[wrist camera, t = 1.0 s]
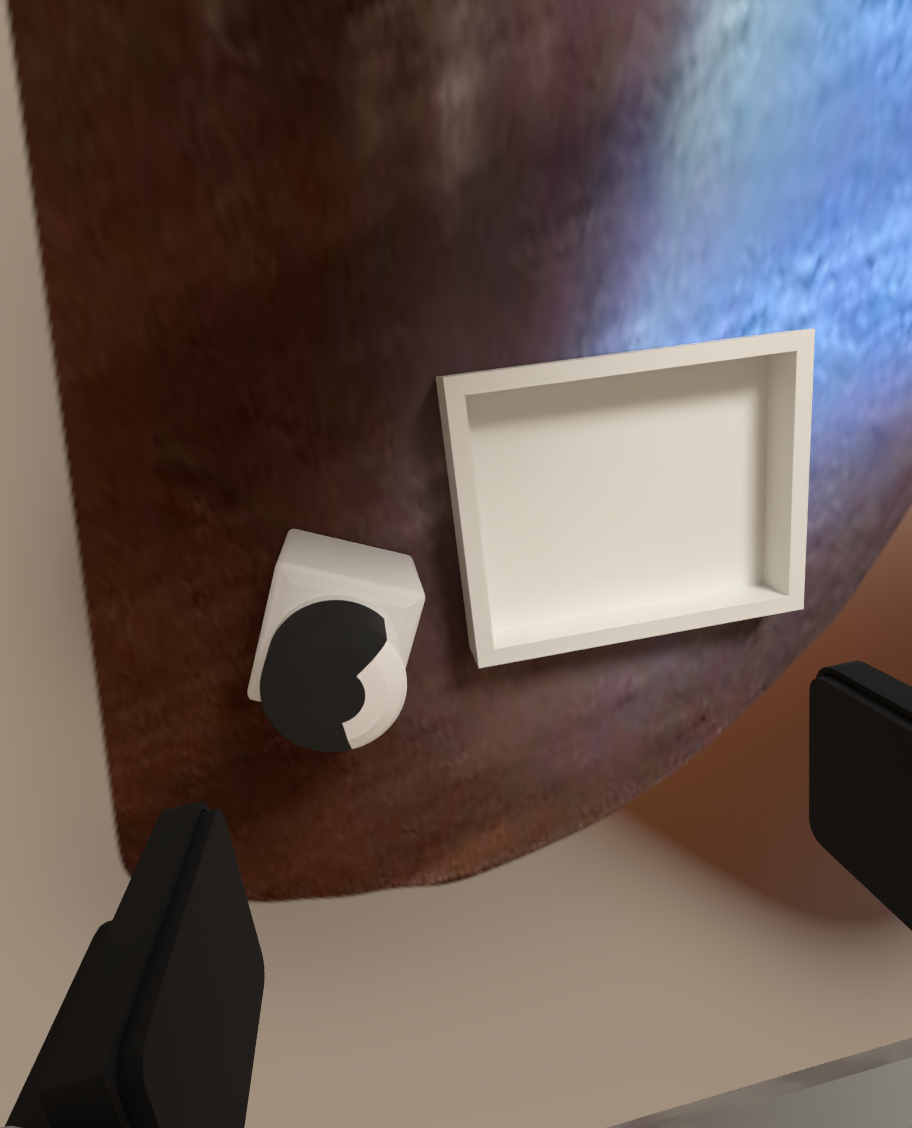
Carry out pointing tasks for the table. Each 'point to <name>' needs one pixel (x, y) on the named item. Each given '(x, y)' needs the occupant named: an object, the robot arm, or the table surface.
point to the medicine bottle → (336, 641)
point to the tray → (629, 492)
